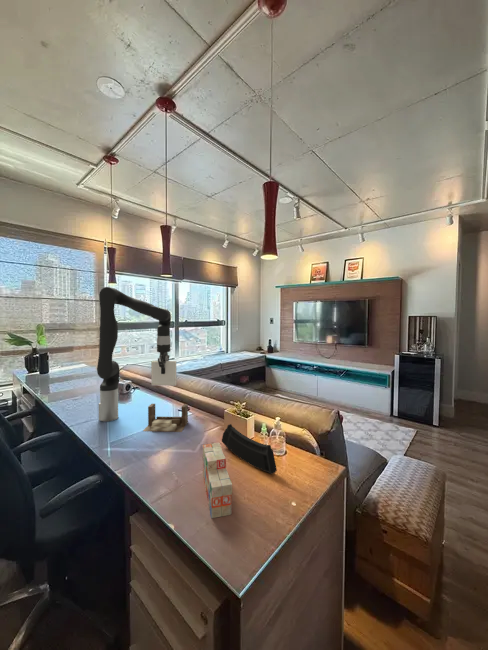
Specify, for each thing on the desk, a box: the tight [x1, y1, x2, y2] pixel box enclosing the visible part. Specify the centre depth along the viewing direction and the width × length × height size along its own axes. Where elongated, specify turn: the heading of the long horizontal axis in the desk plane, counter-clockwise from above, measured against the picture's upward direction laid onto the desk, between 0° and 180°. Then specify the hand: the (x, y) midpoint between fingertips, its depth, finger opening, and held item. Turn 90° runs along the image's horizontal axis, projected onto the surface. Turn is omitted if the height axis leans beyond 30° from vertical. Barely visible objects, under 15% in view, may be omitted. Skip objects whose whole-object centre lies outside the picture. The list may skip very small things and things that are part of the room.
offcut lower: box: [150, 424, 177, 432], centre depth 138 cm, size 12×4×2 cm, turn 88°
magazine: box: [221, 423, 278, 475], centre depth 109 cm, size 17×3×30 cm
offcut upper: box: [152, 420, 172, 427], centre depth 138 cm, size 9×4×2 cm, turn 88°
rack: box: [142, 403, 189, 433], centre depth 141 cm, size 20×14×11 cm
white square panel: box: [150, 360, 177, 387], centre depth 155 cm, size 14×2×14 cm, turn 87°
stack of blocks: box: [202, 442, 233, 519], centre depth 89 cm, size 21×6×12 cm, turn 15°
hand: (163, 373), depth 155 cm, fingers closed on white square panel, 2 cm apart
